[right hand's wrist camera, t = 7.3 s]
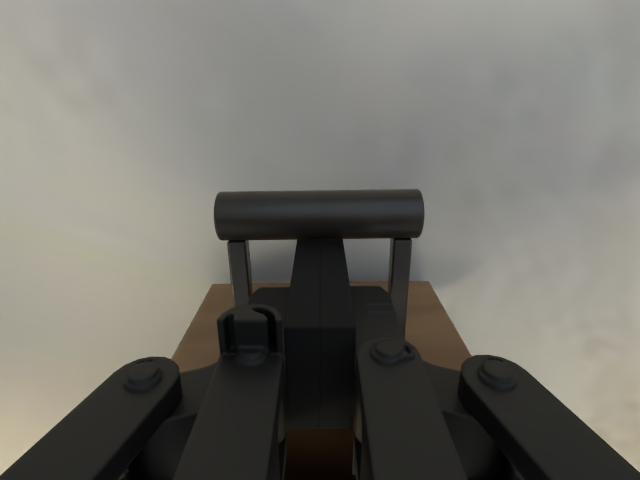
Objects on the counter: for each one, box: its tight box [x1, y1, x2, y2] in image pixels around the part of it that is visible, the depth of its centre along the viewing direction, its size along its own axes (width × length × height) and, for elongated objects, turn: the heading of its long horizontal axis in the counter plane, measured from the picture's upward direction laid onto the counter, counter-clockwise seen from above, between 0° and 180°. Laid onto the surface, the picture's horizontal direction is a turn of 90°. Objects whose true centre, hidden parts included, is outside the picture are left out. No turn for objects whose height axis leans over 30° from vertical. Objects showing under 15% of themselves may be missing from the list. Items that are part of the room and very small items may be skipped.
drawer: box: [171, 189, 472, 480], centre depth 18 cm, size 24×10×7 cm, turn 1°
